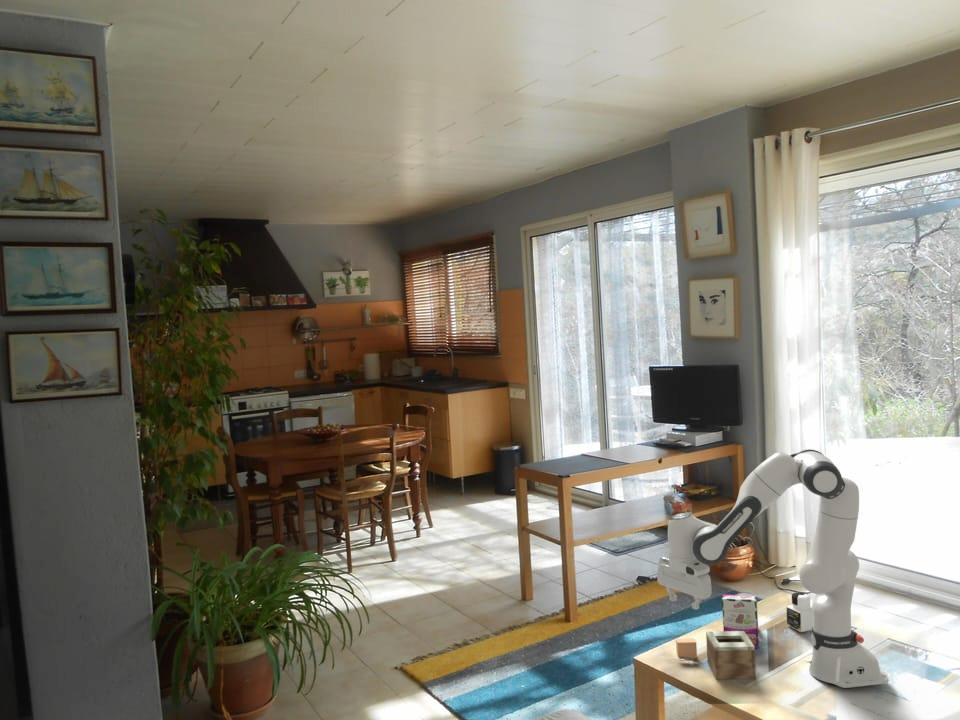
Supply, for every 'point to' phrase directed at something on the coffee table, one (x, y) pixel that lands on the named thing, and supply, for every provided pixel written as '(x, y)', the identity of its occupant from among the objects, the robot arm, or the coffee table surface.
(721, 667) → the drop box
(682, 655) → the block
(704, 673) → the coffee table surface
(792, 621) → the medicine bottle
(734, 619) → the candy bar box
